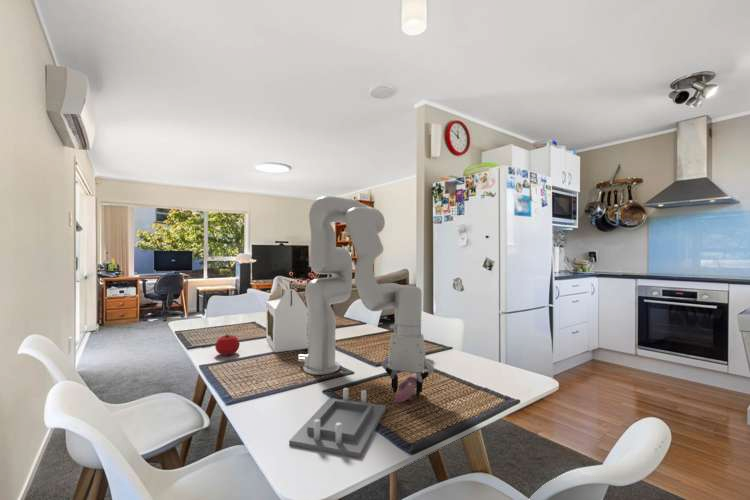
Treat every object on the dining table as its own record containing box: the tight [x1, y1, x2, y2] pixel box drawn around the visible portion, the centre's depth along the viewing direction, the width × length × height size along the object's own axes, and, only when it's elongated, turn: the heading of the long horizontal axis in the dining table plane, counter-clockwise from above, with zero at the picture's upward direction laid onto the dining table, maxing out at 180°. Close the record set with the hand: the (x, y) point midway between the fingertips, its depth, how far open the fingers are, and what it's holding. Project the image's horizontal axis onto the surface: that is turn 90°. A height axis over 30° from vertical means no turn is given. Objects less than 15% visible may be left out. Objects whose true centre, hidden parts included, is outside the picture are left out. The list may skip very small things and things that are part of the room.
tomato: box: [214, 333, 240, 356], centre depth 137 cm, size 9×9×8 cm
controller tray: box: [288, 387, 387, 459], centre depth 83 cm, size 16×22×5 cm
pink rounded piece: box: [394, 373, 418, 403], centre depth 99 cm, size 10×5×7 cm, turn 168°
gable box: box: [265, 278, 308, 353], centre depth 152 cm, size 22×13×28 cm, turn 26°
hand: (406, 392), depth 99 cm, fingers closed on pink rounded piece, 6 cm apart
